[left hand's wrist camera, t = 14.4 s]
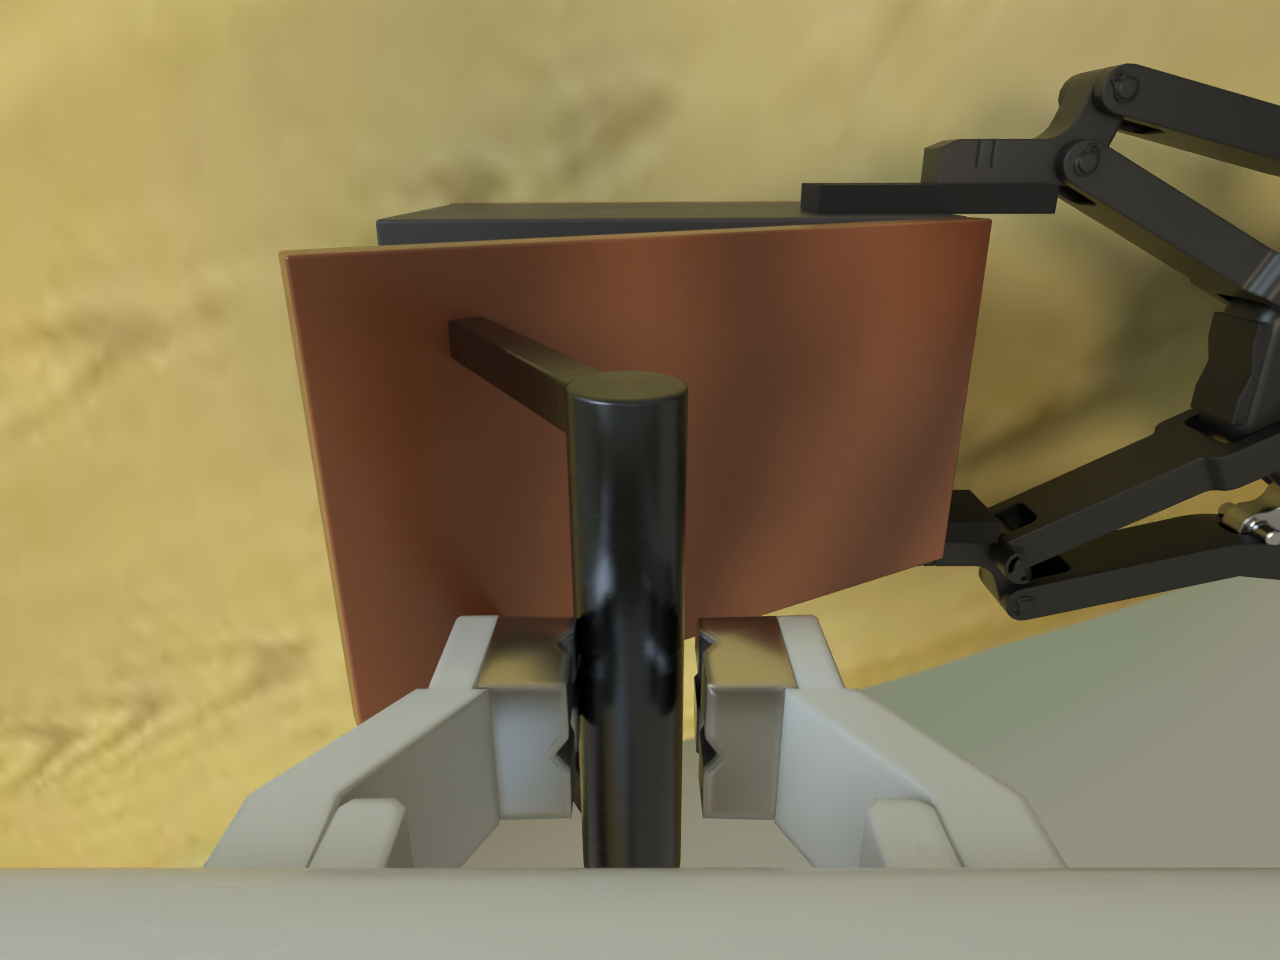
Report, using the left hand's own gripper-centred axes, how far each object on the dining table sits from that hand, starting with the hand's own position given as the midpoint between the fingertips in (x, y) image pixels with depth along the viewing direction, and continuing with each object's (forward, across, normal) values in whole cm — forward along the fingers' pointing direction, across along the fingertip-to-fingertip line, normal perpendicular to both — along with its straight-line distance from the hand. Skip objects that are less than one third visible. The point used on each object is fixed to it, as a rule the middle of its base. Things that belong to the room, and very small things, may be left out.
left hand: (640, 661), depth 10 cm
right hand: (+16, +5, 0) cm, 17 cm away
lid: (+9, +1, 0) cm, 9 cm away
